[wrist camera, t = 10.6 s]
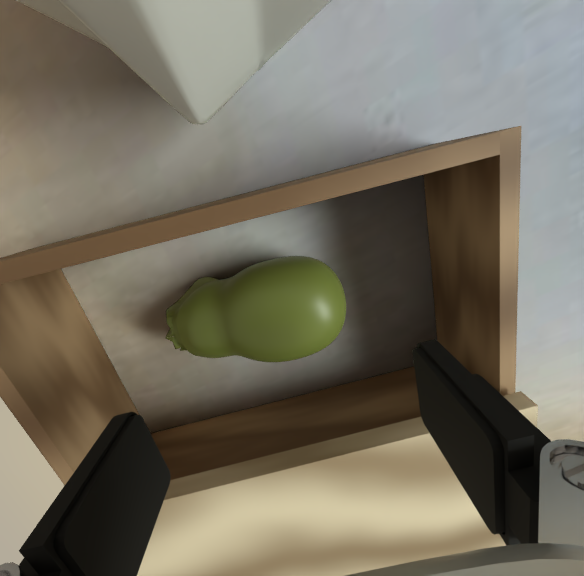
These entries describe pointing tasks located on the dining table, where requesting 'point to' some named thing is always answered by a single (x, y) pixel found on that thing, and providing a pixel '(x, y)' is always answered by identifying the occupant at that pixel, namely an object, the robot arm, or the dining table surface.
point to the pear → (261, 312)
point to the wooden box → (297, 410)
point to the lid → (322, 509)
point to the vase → (187, 41)
